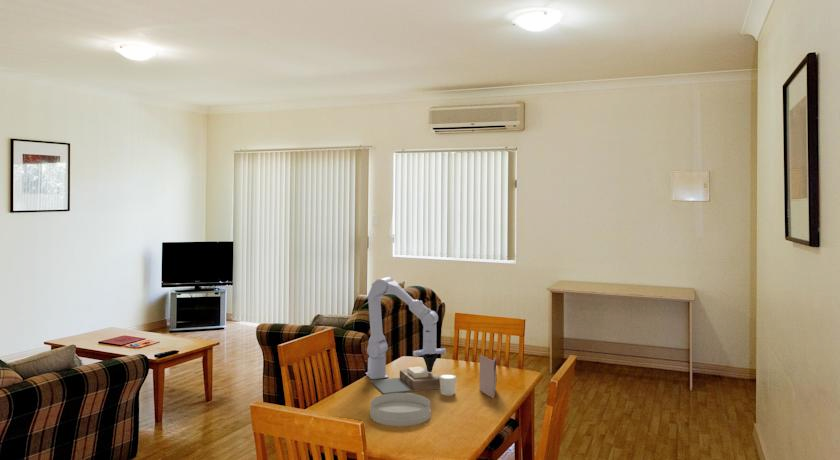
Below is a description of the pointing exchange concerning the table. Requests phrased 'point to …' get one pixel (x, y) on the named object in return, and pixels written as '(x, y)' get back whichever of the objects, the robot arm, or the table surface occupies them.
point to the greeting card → (488, 376)
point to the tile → (417, 372)
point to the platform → (420, 381)
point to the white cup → (447, 384)
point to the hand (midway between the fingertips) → (429, 371)
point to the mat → (391, 386)
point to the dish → (400, 409)
